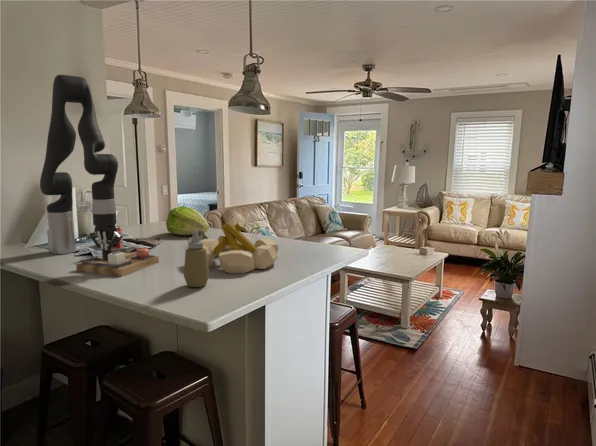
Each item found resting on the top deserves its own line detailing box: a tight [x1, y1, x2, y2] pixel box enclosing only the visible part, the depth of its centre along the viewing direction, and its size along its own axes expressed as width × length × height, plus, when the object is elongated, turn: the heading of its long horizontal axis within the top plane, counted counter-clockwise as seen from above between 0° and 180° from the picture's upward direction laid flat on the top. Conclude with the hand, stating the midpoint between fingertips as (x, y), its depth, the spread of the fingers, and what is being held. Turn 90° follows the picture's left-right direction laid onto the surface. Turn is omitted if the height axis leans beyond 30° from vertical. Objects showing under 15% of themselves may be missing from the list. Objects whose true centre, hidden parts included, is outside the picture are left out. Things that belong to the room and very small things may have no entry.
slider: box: [108, 251, 125, 265], centre depth 150 cm, size 4×4×5 cm
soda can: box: [108, 225, 125, 250], centre depth 172 cm, size 7×7×12 cm
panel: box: [75, 252, 160, 277], centre depth 157 cm, size 20×20×4 cm
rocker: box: [111, 246, 134, 253], centre depth 163 cm, size 10×4×2 cm, turn 71°
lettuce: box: [165, 205, 210, 236], centre depth 215 cm, size 17×24×14 cm
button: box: [136, 247, 150, 258], centre depth 160 cm, size 4×4×3 cm
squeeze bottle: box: [183, 231, 210, 288], centre depth 135 cm, size 8×8×18 cm
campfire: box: [201, 221, 279, 274], centre depth 165 cm, size 35×34×17 cm
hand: (107, 259), depth 151 cm, fingers closed
